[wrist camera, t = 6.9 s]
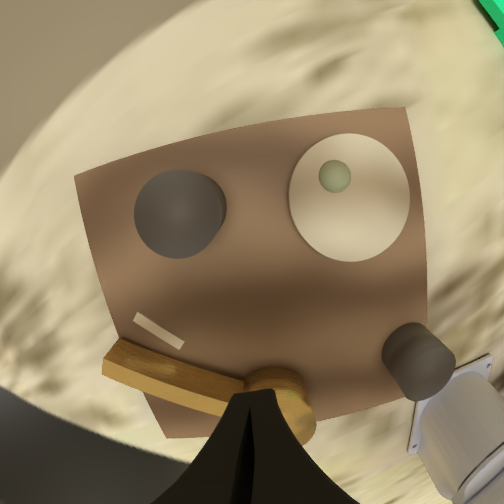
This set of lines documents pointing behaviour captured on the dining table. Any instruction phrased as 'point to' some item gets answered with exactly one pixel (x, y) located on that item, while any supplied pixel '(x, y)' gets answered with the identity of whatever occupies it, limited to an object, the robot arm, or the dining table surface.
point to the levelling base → (273, 259)
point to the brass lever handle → (208, 385)
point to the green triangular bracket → (496, 15)
